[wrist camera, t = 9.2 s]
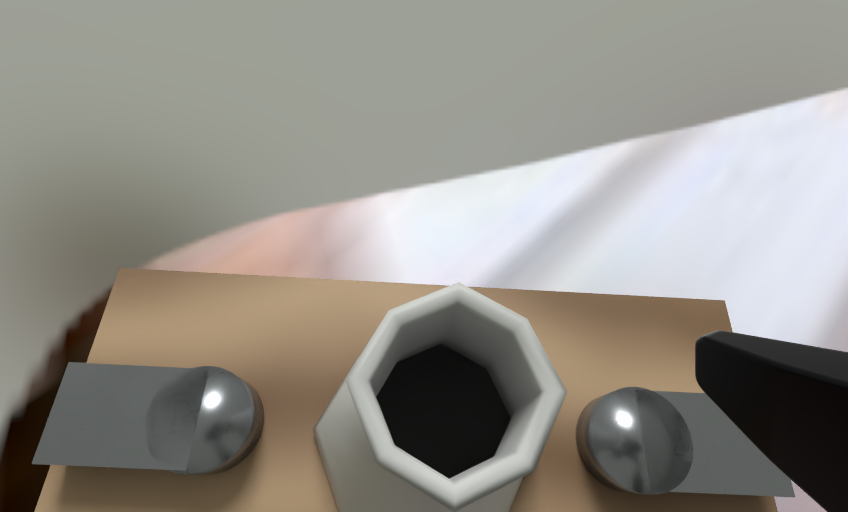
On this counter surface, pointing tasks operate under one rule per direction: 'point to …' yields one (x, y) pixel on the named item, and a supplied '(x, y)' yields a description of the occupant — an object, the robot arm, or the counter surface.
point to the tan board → (332, 360)
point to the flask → (440, 409)
